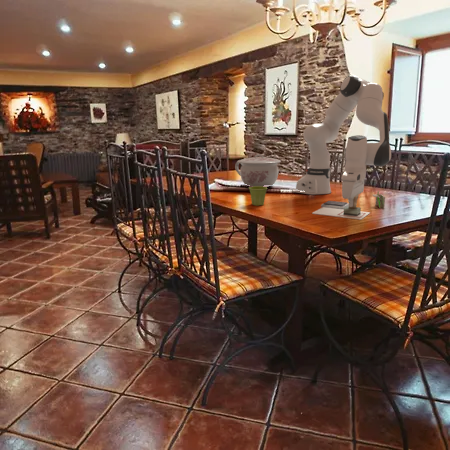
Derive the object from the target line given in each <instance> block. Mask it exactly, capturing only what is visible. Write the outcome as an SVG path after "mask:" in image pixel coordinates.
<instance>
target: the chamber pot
mask: <svg viewBox="0 0 450 450" xmlns="http://www.w3.org/2000/svg"><path fill="white" fill-rule="evenodd" d="M281 162H282V161H281V160H280V159H277V158H273V157H265V156H264V155H262V154H256V155H254V157H249V158H248V157H247V158H243V159H239V160H237V161H236V162H235V166H234V168H235V171H236V173H237V174H238V175H239V176H240V179H241V181H242V183H243V184H244V185H245V184H247V185H250V186H264V185H273V184H274V185H275V183H276V182H277V180H278V176H279V166H278V164H279V163H281ZM239 164H240V165H241V166H240V169H239ZM274 185H273V186H274Z"/></svg>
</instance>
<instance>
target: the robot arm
mask: <svg viewBox="0 0 450 450" xmlns="http://www.w3.org/2000/svg"><path fill="white" fill-rule="evenodd" d="M384 95H385V94H384V91H383V87H382V86H381V85H380V84H379V83H376V82H371V81H368V80H366V79H363V78H361V77H359V76H358V75H355V74H350V75H348V76H346V77H345V78H344V79H343V81H342V82H341V84H340V87H339V93H338V94H337V95H336V97H335V98H334V99H333V100H332V102H331V104H330V105H329V106H328V108H327V109H326V110H325V117H324V119H323V121H322V122H320V123H313V124H310V125H308V126H306V127H305V128H304V130H303V140H304V141H305V142H306V143H307V146H308V150H309V157H310V158H309V167H308V168H307V169H305V172H306V174H305V175H304V176H302V177H301V178H300V179H298V180H297V182H296V184H295V188H296V189H298V190H304V191H305V192H300V191H293V190H295V189H294V188H293V190H291V192H293V193H299V194H306V195H326V194H327V195H328V194H331V193H332V189H331V184H330V181H331V180H330V178H331V168H330V167H331V153H330V151H329V150H328V147H327V146H328V145H327V144H330V143H331V142H334V141H335V140H336V139H337V138H338V137H339V134H340V133H339V131H340V129H341V126H342V125H343V123H344V122H345V120H347V118H348V117H349V116H350V114H351V113H352V111H354V109H355V114H356V117H357V120H359V122H361V123H362V124H364V125H367V126H370V127H373V128H374V129H376V130H378V131H379V141H378V142H368V139H367V136H364V135H351V136H349V137H348V139H347V143H346V147H345V150H344V159H345V164H344V170H343V173H342V175H341V177H340V178H341V181H342V183H341V196H342V198H343V199H344V200H345V199H346V200H348V202H347V203H349V207H353V206H354V202H353V199H354V197H355V196H357V194H358V196H357V200H359V195H360V194H362V193H364V189H365V179H366V175H367V174H366V172H367V166H375V167H384V166H386V165H387V164H388V163H390V161H391V159H392V148H391V145H390V130H389V129H390V124H389V118H388V114H387V112H384V110H383V108H382V107H383V100H384V97H385V96H384Z"/></svg>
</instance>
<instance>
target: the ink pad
mask: <svg viewBox="0 0 450 450" xmlns="http://www.w3.org/2000/svg"><path fill="white" fill-rule="evenodd" d="M347 206H349V202H345V201H336V200H335V201H334V200H328V201H325V202H324V203H322V204H321V205H320V208H323V207H326V208H335V209H344V208H345V207H347Z"/></svg>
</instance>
